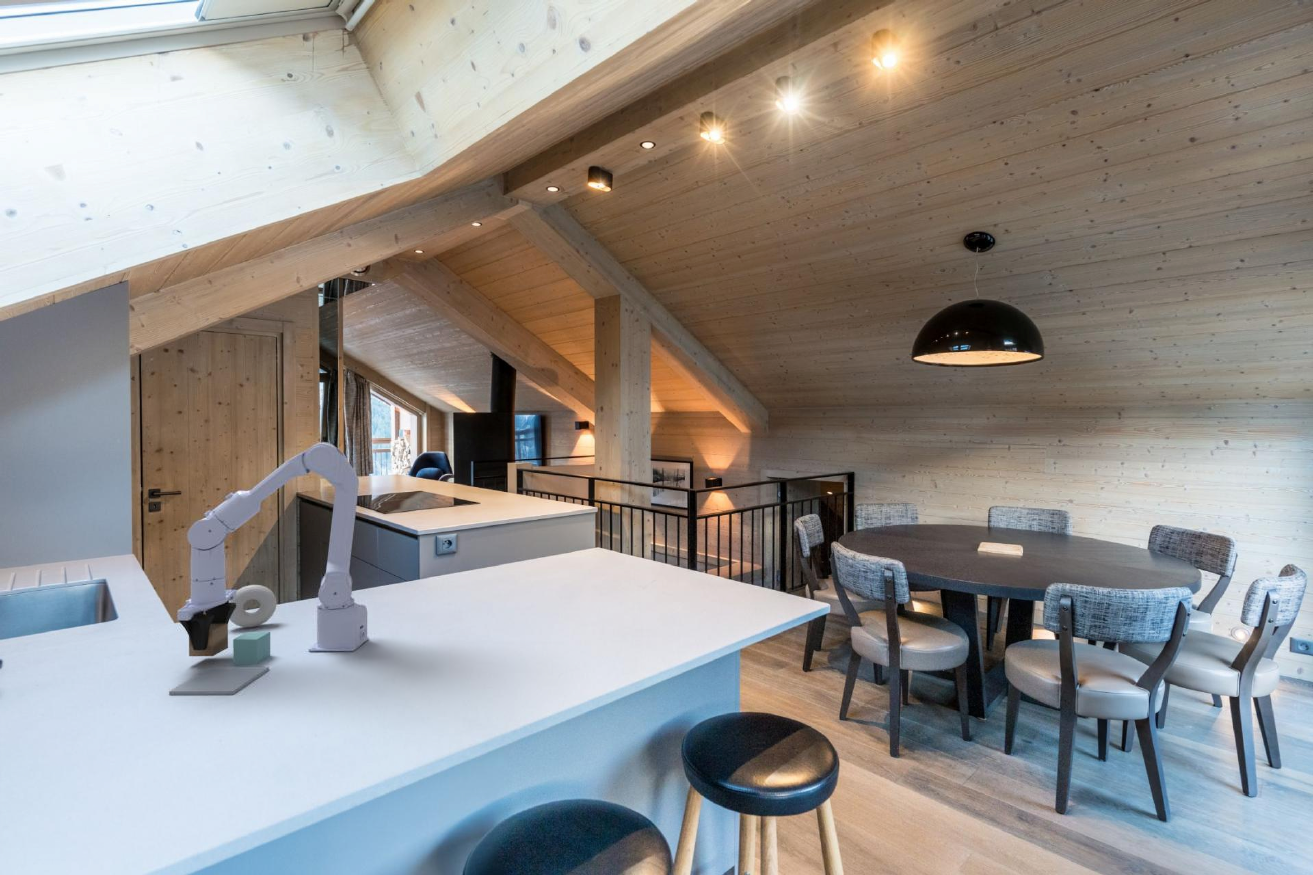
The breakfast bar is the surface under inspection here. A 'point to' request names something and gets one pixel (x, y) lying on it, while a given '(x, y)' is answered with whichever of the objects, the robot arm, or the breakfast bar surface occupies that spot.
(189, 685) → the baseplate
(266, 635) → the teal brick
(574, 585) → the breakfast bar surface
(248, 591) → the donut
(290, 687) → the breakfast bar surface
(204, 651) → the walnut brick
